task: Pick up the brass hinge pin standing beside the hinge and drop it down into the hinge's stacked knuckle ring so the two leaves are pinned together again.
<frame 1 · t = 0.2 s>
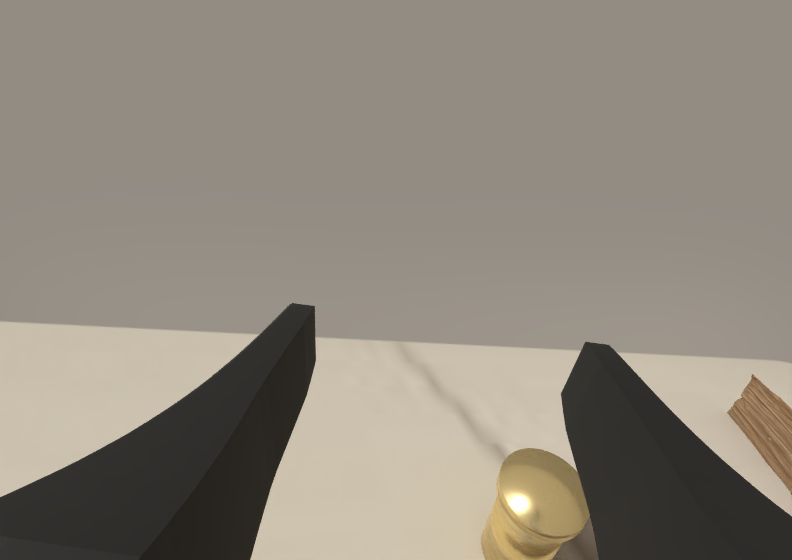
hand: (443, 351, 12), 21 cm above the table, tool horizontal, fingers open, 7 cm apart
hinge pin: (513, 548, 28), on the table
wood plank: (782, 494, 33), on the table
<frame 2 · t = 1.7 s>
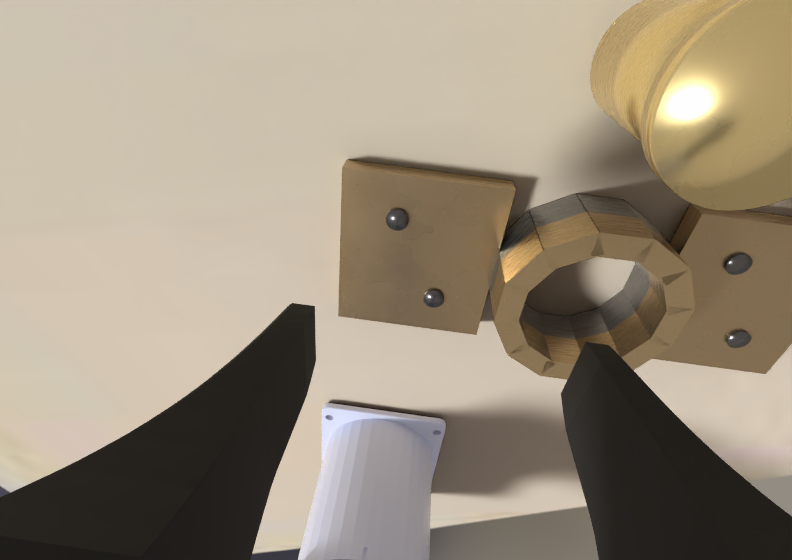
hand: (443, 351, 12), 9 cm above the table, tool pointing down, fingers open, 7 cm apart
hinge pin: (652, 63, 16), on the table
hinge: (570, 269, 21), on the table
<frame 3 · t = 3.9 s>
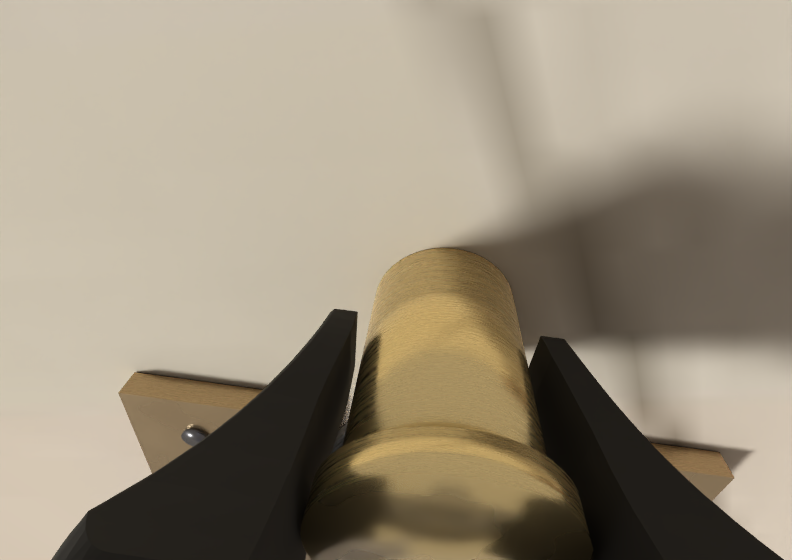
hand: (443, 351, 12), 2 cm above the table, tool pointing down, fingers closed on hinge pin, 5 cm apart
hinge pin: (443, 307, 13), on the table, touching gripper
hinge: (410, 471, 18), on the table
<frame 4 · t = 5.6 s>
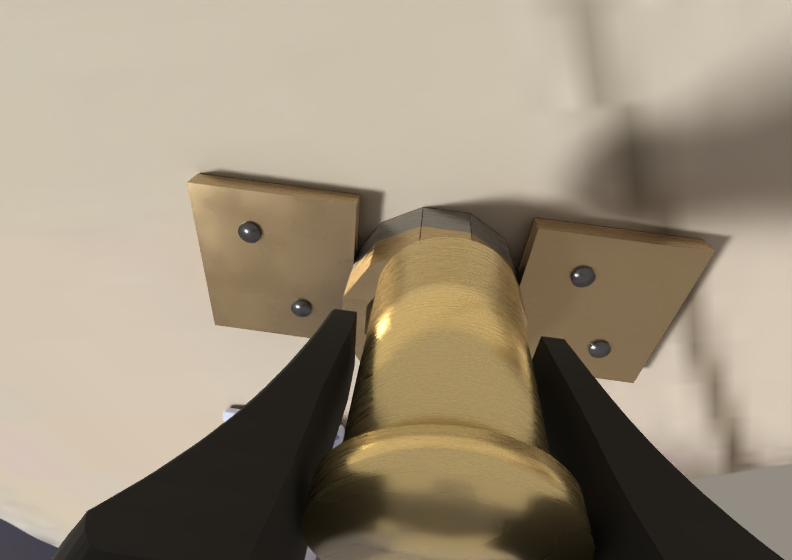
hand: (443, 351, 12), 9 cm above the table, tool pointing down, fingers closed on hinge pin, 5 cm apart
hinge pin: (445, 296, 13), point 7 cm above the table, touching gripper
hinge: (433, 280, 21), on the table
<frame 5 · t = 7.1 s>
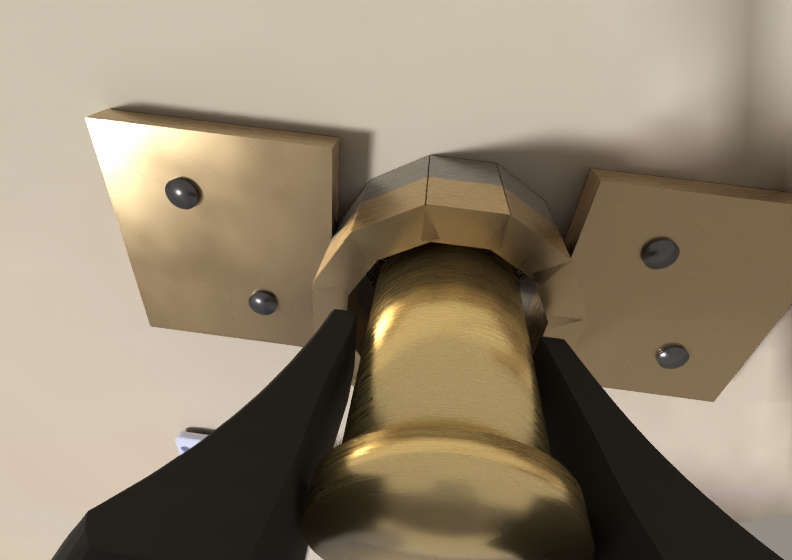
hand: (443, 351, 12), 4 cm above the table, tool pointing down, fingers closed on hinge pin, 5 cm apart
hinge pin: (446, 292, 13), point 2 cm above the table, touching gripper
hinge: (443, 263, 15), on the table
when the fingers open (4 cm above the table, at t = 7.8 s): hinge pin drops 2 cm, resting in hinge.
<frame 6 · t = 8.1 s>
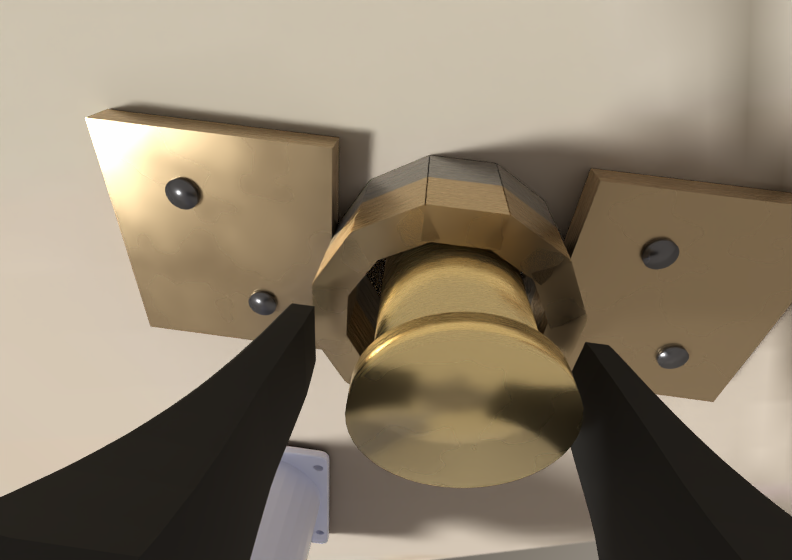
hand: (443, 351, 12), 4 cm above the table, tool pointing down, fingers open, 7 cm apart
hinge pin: (447, 252, 15), resting in hinge
hinge: (443, 263, 15), on the table
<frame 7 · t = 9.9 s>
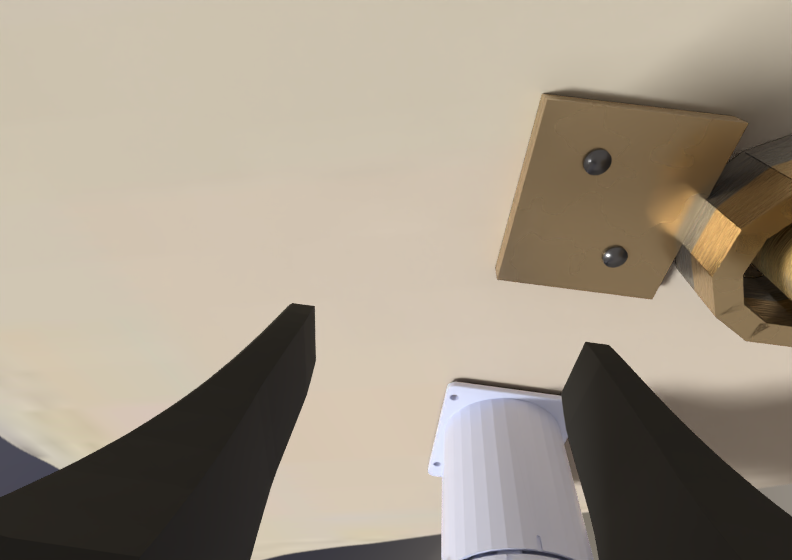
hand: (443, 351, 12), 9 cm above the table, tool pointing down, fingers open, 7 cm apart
hinge pin: (781, 212, 18), resting in hinge
hinge: (772, 223, 18), on the table
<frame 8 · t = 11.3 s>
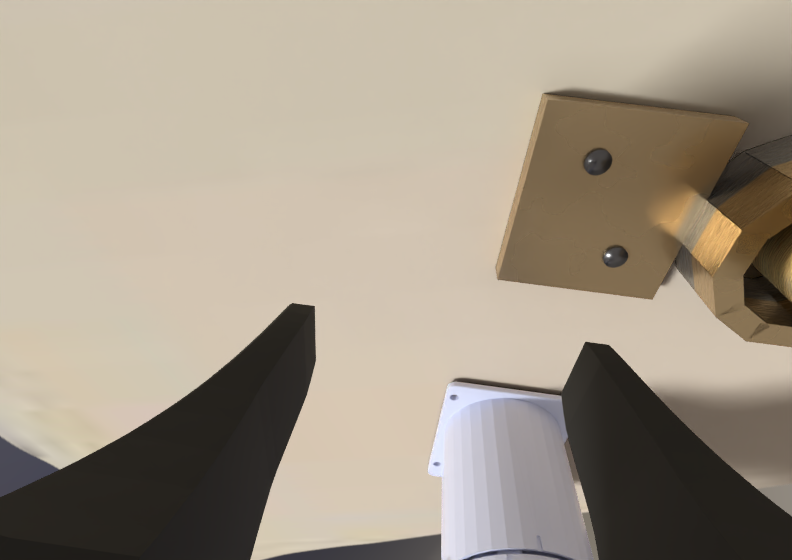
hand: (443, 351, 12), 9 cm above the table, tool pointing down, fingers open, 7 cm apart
hinge pin: (782, 212, 18), resting in hinge
hinge: (773, 223, 18), on the table
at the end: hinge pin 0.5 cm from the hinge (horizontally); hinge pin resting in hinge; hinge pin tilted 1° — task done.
